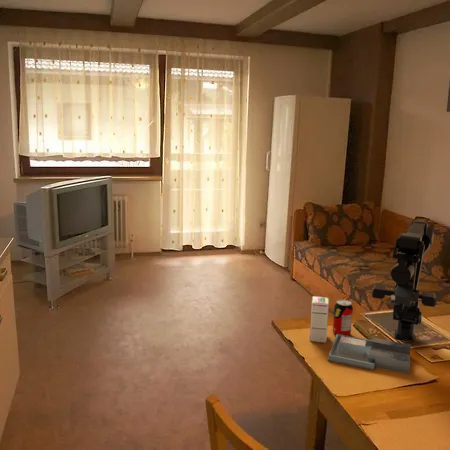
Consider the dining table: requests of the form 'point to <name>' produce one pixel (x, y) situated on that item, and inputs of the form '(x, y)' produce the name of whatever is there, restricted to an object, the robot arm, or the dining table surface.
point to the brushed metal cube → (345, 345)
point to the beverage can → (342, 317)
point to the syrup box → (319, 319)
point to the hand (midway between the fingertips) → (400, 319)
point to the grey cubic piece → (358, 348)
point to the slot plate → (390, 355)
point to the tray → (350, 359)
